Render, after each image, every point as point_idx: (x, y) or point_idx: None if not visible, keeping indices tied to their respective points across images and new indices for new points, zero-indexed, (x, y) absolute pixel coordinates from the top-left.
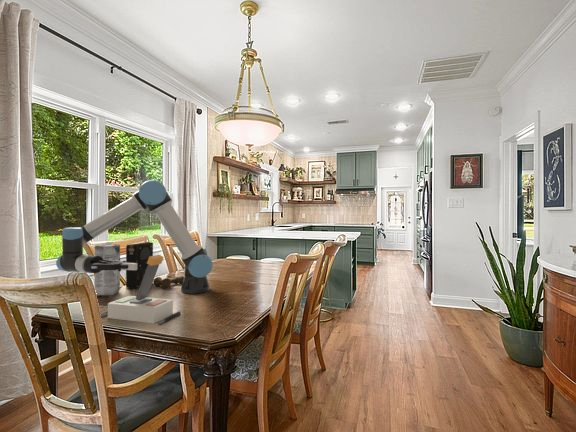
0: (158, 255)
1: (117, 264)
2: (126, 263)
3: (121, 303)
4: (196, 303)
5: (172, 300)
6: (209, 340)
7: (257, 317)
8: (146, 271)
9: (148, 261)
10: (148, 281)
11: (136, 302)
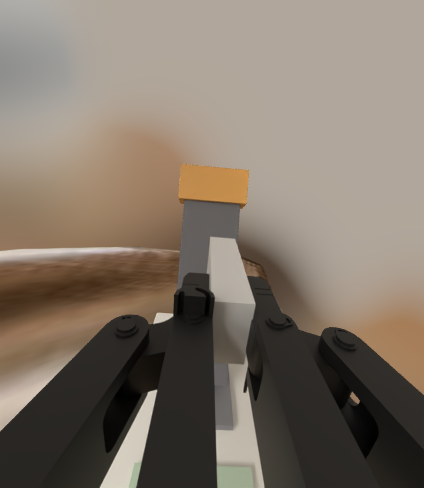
0: (193, 167)
1: (297, 341)
2: (244, 271)
3: (259, 470)
4: (43, 334)
5: (159, 313)
6: (255, 268)
7: (159, 250)
8: (236, 241)
9: (246, 193)
10: None
11: (229, 387)
